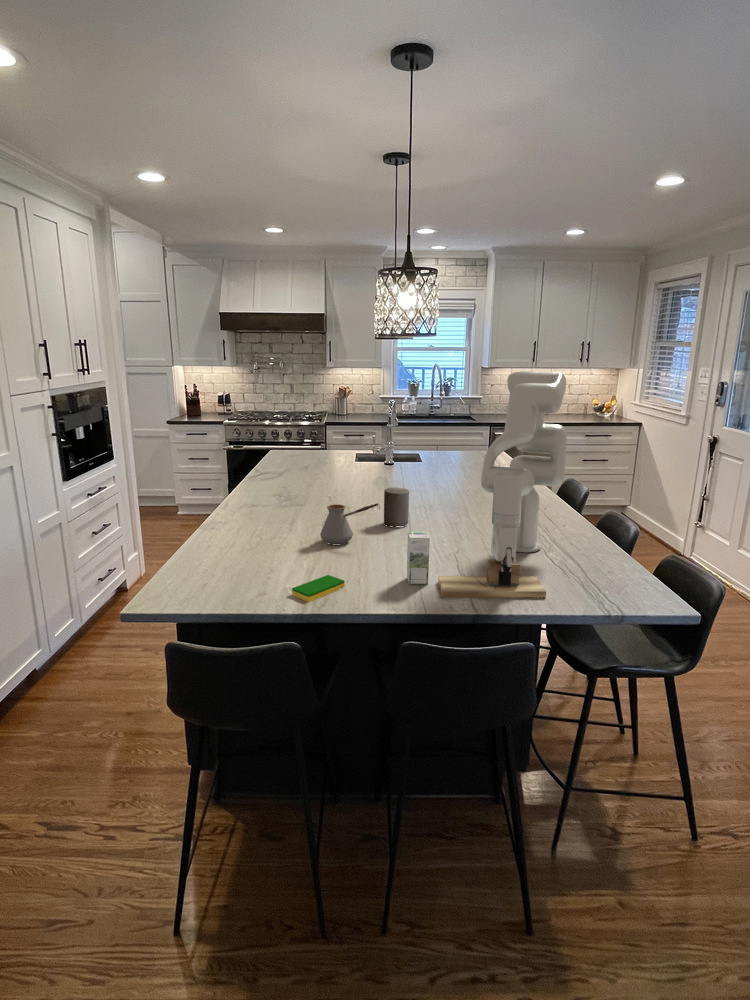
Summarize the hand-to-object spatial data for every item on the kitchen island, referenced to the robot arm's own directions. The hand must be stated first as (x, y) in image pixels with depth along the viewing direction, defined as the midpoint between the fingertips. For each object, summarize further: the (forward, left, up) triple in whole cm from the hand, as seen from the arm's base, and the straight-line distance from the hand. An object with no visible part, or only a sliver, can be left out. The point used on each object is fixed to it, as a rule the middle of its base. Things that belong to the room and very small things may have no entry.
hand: (502, 580), depth 161 cm
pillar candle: (-64, -27, -3) cm, 70 cm away
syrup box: (-6, -23, -3) cm, 24 cm away
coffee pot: (-41, -44, -3) cm, 60 cm away
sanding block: (0, 0, -1) cm, 1 cm away
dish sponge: (+1, -51, -3) cm, 51 cm away
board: (0, -3, -3) cm, 4 cm away
